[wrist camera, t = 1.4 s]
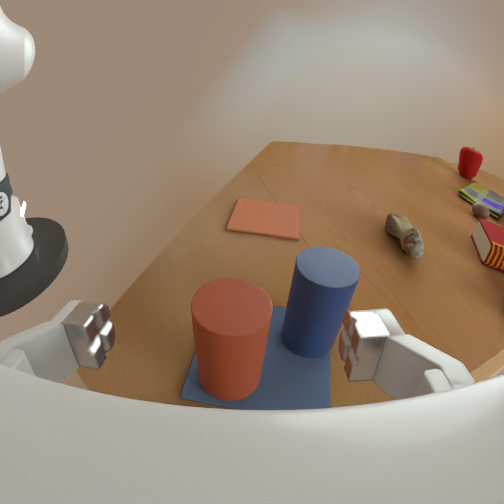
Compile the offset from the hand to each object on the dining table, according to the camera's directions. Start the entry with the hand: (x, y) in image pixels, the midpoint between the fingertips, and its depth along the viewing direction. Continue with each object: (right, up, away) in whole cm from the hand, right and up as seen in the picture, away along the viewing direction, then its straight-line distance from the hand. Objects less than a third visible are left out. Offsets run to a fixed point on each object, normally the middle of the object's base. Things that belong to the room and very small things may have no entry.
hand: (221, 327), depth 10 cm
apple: (+90, +34, +91) cm, 132 cm away
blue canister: (+7, -7, +23) cm, 25 cm away
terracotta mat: (+3, +9, +45) cm, 46 cm away
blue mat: (+2, -8, +21) cm, 23 cm away
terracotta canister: (-1, -9, +18) cm, 21 cm away
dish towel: (+79, +19, +69) cm, 107 cm away
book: (+58, 0, +40) cm, 70 cm away
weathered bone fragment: (+28, +4, +41) cm, 50 cm away
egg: (+64, +12, +58) cm, 87 cm away
